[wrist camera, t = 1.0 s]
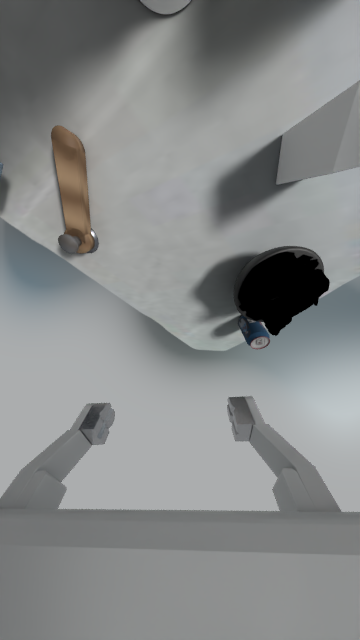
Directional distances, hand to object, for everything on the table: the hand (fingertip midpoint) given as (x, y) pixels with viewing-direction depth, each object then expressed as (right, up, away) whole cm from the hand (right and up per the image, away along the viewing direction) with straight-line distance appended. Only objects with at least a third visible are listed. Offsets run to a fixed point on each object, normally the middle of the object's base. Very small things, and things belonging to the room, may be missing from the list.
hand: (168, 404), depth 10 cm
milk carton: (+24, +38, +18) cm, 49 cm away
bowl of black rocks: (+25, +19, +34) cm, 46 cm away
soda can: (+26, +6, +44) cm, 52 cm away
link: (-22, +33, +23) cm, 46 cm away
